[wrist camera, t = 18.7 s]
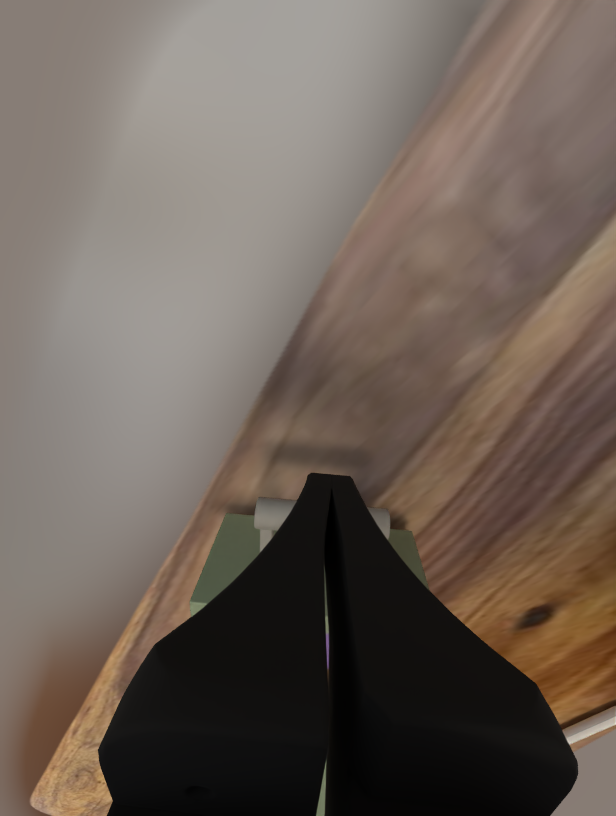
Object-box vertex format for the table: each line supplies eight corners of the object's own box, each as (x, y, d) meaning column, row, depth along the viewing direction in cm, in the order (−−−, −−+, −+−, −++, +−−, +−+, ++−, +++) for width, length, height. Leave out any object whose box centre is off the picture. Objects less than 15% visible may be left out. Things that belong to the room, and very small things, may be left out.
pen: (451, 777, 33) (455, 794, 32) (635, 693, 26) (648, 710, 25) (458, 780, 33) (462, 797, 32) (642, 697, 26) (655, 715, 25)
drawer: (223, 452, 19) (181, 529, 14) (426, 471, 19) (465, 557, 13) (231, 642, 26) (204, 745, 20) (380, 658, 25) (393, 767, 20)
